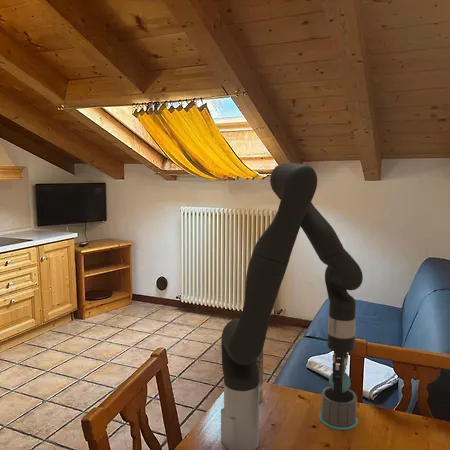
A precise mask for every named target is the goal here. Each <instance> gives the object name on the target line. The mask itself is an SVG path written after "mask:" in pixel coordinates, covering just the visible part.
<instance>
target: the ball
mask: <svg viewBox="0 0 450 450" xmlns="http://www.w3.org/2000/svg"><path fill="white" fill-rule="evenodd" d="M336 377H339V378H340V376H336ZM332 379H333V372H331V374H330V375H329V378H328V384H329V386H330V387H331V388H332V389H333V390H334V382H333V380H332ZM350 387H351V378H350V375H348V374H347V373H346V372H345V374H343V382H342V393H343V392H346V391H347V390H348V389H350Z"/></svg>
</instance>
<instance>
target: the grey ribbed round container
mask: <svg viewBox="0 0 450 450" xmlns="http://www.w3.org/2000/svg"><path fill="white" fill-rule="evenodd" d="M320 397H321V399H320V411H319V413H318V419H319V421H320V422H321V424H323V425H324V426H326V427H328V428H329V429H332V430H338V431H351V430H353V429H354V428H356V427H357V426H358V424H359V418H358V416H357V411H358V410H357V408H358V407H357V405H358V396H357V394H356V393H355V391H353V390H352V389H350V388H349V389H348V390H347V391H346V392H343V393H342V394H341V395H339V394H335V393H334V390H333V389H332V388H331V387H330V385H329V386H327V387H325V388H323V389H322V391H321V396H320Z"/></svg>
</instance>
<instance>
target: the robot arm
mask: <svg viewBox="0 0 450 450" xmlns="http://www.w3.org/2000/svg"><path fill="white" fill-rule="evenodd" d="M269 183H270V184H269V185H270V187H271V190H272V191H273V193H274V194H275V195H276V197H277V198H278V199H279V200H280V202H279V206H278V209H277V211H276V214H275V215H274V218H273V220H272V222H271V223H270V224H269V226H268V227H267V228H266V229H265V231H264V232H263V233H262V234H261V236H260V237H259V238H258V240H257V241H256V243H255V245H254V248H253V250H252V253H251V256H250V259H249V262H248V265H247V270H246V275H245V276H246V277H245V289H244V290H245V291H244V303H243V306H242V307H243V308H242V311H241V314H240V317H239V318H235V319H231V320H230V321H229V322H227V323H226V325H224V327H223V328H222V329H223V330H222V333H221V338H220V339H221V340H220V341H221V342H220V345H221V367H222V373H223V408H221V409H220V442H221V444H222V445H223V446H224V448H226V450H257V449H258V447H259V445H260V403H259V370H258V366H257V362H256V359H257V358H258V357H259V356H260V354H261V352H262V350H263V351H264V346H265V342H266V337H267V333H268V332H267V331H268V328H269V324H270V319H271V315H272V311H273V309H274V305H275V303H276V300H277V298H278V295H279V291H280V288H281V286H282V285H281V284H282V282H283V279H284V277H285V274H286V272H287V271H286V270H287V269H288V265H289V262H290V259H291V255H292V253H293V249H294V246H295V243H296V241H297V238H298V234H299V233H300V229H302V231H303V233H304V234H305V236H306V238H307V239H308V241H309V242H310V244H311V246H312V247H313V250H314V252H315V253H316V255H317V256H318V259H319V260H320V261H321V263H323V264H324V265H326V266H327V267H326V268H325V271H324V281H325V287H326V292H327V297H328V299H329V300H328V301H329V307H328V309H329V311H328V313H329V314H328V320H327V337H326V338H327V339H326V340H327V341H326V342H327V343H326V346H327V348H328V349H329V350H330V351H333V355H332V368H331V369H332V371H331V372H332V373H333V379H332V380H333V382H334V393H335V394H339V395H341V394H342V382H343V374H345V373H346V371H347V366H348V363H349V362H348V359H349V353H351V352H354V350H355V347H356V330H357V329H356V327H357V325H356V307H357V306H356V300H355V298H354V297H353V296H352V295H350V293H349V292H348V291H355V290H357V289H359V288H360V287H361V285H362V284H363V281H364V280H363V279H364V276H363V271H362V269H361V267H360V265H359V264H358V262H356V260H355V259H354V258H353V256H352V255H351V254H350V253H349V252H348V251H347V250H346V248H345V247H344V245H343V244H342V241H341V239H340V238H339V236H338V235H337V232H336V230H335V229H334V228H333V226H332V225H331V223H329V221H328V220H327V219H326V218H325V217H324V216H323V215H322V213H321V212H320V211H319V210H318V209H317V208H316V207H315V205H314V204H313V203H312V202H313V198H314V196H315V193H316V192H317V191H316V190H317V187H318V176H317V172H316V171H315V169H314V168H313V167H312V166H311V165H308V164H304V163H298V162H297V163H295V162H284V163H279V164H278V165H277V166H275V167H274V168H273V169H272V172H271V174H270V179H269ZM336 376H340V378H339V377H336Z"/></svg>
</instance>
